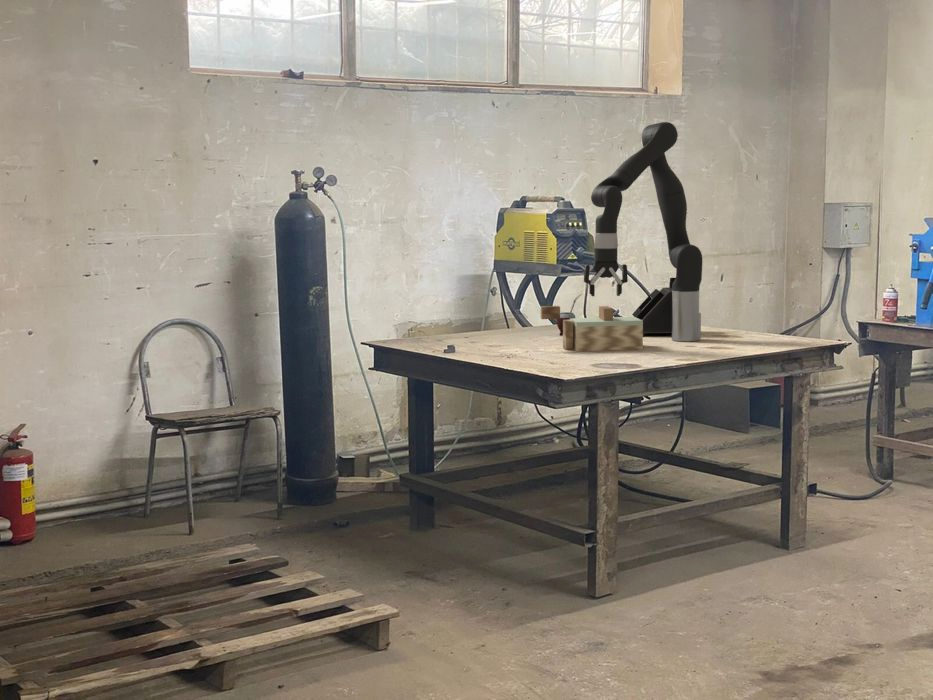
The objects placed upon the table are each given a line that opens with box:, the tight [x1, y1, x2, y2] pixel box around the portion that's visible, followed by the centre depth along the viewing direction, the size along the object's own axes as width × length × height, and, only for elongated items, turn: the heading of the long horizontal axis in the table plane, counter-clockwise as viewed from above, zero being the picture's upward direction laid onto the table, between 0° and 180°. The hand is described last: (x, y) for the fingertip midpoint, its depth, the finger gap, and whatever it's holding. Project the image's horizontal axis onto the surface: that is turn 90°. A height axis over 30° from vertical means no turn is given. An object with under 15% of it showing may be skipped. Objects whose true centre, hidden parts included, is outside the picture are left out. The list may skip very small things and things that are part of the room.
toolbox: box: [562, 320, 644, 352], centre depth 377 cm, size 25×12×10 cm, turn 95°
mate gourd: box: [556, 293, 582, 337], centre depth 413 cm, size 8×8×15 cm
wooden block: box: [540, 305, 561, 320], centre depth 374 cm, size 6×3×4 cm, turn 95°
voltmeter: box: [631, 277, 676, 337], centre depth 411 cm, size 16×16×20 cm
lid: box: [570, 305, 643, 327], centre depth 376 cm, size 22×12×6 cm, turn 95°
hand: (605, 295), depth 375 cm, fingers open, 8 cm apart
